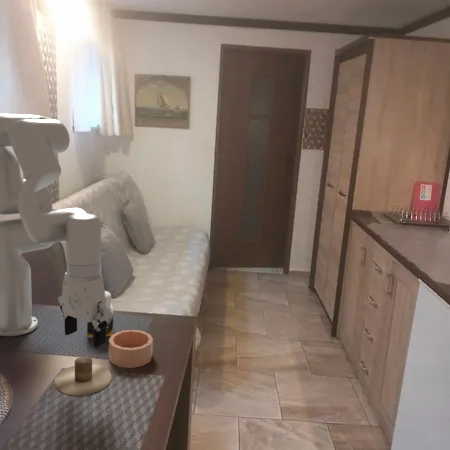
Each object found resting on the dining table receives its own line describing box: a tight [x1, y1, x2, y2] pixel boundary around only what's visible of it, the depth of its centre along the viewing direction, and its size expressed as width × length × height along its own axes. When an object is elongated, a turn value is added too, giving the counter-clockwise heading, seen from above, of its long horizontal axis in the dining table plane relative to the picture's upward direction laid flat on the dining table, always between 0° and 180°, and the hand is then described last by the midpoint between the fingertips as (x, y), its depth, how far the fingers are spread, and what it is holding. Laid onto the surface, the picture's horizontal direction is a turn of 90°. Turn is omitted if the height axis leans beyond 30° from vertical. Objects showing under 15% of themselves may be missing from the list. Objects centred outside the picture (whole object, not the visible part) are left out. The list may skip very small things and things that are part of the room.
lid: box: [54, 356, 112, 396], centre depth 115 cm, size 13×13×5 cm
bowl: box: [108, 329, 154, 369], centre depth 126 cm, size 11×11×5 cm
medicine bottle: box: [86, 290, 114, 338], centre depth 138 cm, size 7×7×12 cm
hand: (85, 338), depth 112 cm, fingers open, 9 cm apart
